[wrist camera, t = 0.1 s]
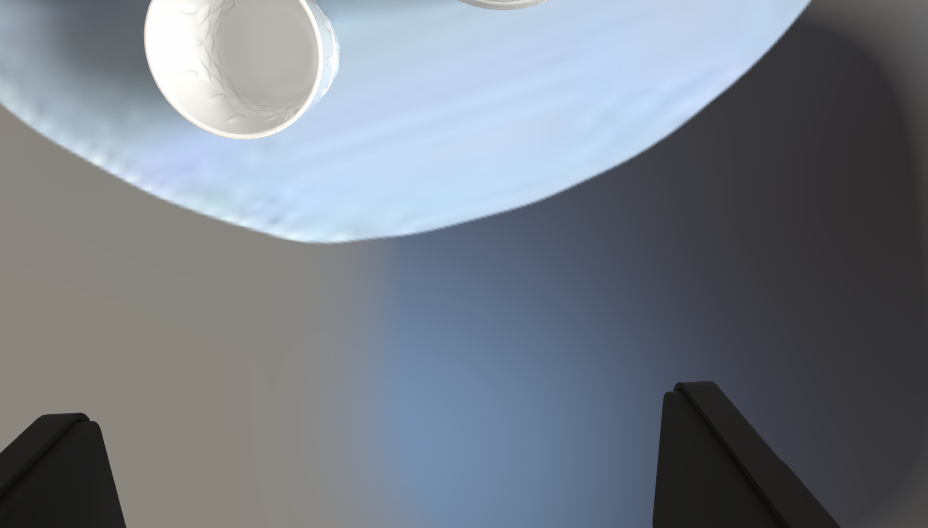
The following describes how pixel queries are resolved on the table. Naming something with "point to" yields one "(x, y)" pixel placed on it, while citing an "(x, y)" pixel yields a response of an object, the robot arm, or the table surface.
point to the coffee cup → (503, 4)
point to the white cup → (241, 61)
